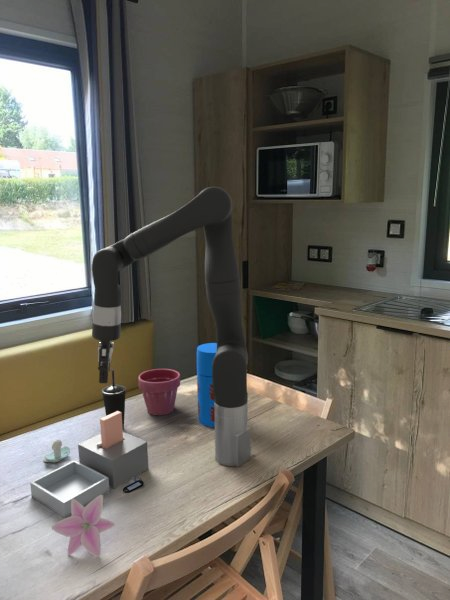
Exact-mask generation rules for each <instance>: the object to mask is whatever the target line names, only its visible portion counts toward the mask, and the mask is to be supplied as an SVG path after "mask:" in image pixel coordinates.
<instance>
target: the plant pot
mask: <svg viewBox="0 0 450 600" xmlns="http://www.w3.org/2000/svg"><path fill="white" fill-rule="evenodd" d="M180 386H181V374H180V372H179V371H177V370H175V369H172V368H171V369H170V368H155V369H149V370H146V371H145V370H144V371H143V372H141V373H140V374H139V375H138V388H139V389H140V391H141V393H142V396H143V400H144V404H145V407H146V410H147V412H148V413H149V414H150V415H153V416H154V415H155V416H163V415H164V416H165V415H168V414H171V413H172V412H174V409H175V404H176V399H177V395H178V388H180Z"/></svg>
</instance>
